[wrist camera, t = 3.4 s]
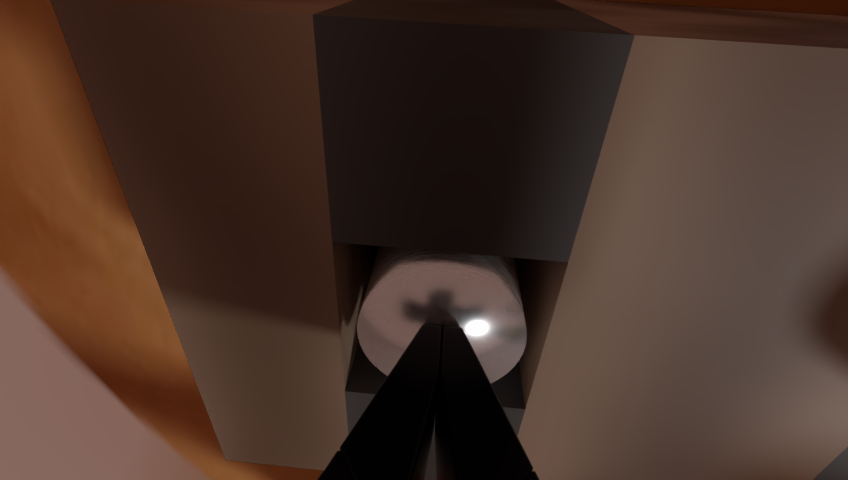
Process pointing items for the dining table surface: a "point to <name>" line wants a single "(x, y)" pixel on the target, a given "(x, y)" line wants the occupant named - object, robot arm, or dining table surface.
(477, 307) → the peg
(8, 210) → the dining table surface
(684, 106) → the walnut block
